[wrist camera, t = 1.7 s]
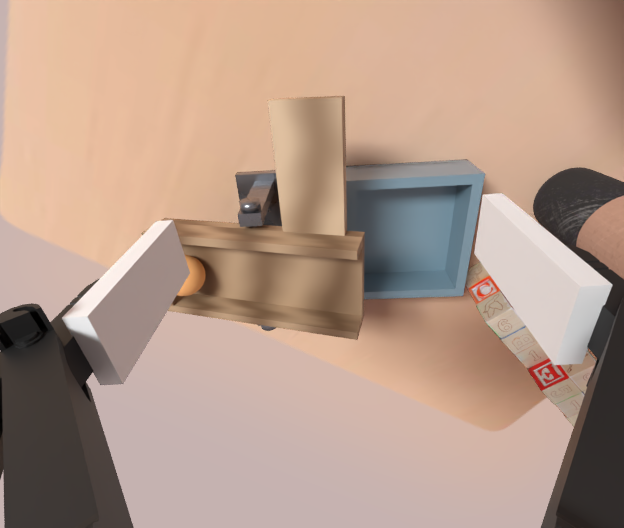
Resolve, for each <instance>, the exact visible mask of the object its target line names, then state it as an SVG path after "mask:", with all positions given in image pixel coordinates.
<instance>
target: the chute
mask: <svg viewBox="0 0 624 528" xmlns="http://www.w3.org/2000/svg"><path fill="white" fill-rule="evenodd" d="M267 101H268V109H269V118H270V126H271V135H272V143H273V152H274V161H275V169H276V178H277V186H278V195H279V203H280V212H281V220H282V226H270V225H263V226H250V227H240V225H239V223H226V222H212V221H197V220H182V219H168V218H164V219H163V220H161V221H166V220H173V221H174V224H175V227H176V230H177V233H178V237H179V240H180V243H181V246H182V249H183V252H184V255H190V256H193V257H195V258H196V259H198V260H199V261H200V262H201V263H202V265H203V267H204V269H205V275H206V276H205V281H204V284H203V286H202V287H201V288H200V289H199V290H198V291H197V292H196V293H194V294H192V295H189V296H178V295H177V296H176V297H175V299H174V301H173V302H172V304H171V306H170V307H169V309H168V311H172V312H179V313H185V314H192V315H198V316H205V317H211V318H218V319H224V320H231V321H238V322H244V323H251V324H257V325H264V326H270V327H277V328H283V329H290V330H297V331H303V332H310V333H316V334H323V335H329V336H336V337H342V338H349V339H355V340H357V339H358V335H359V332H360V328H361V325H362V321H363V317H364V247H365V232H358V231H347V196H346V139H345V96H331V97H304V98H278V99H270V100H267ZM147 230H148V229H147ZM147 230H146V231H147ZM146 231H144V232H142V235H143V234H144V233H145V232H146Z"/></svg>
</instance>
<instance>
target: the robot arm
mask: <svg viewBox="0 0 624 528" xmlns="http://www.w3.org/2000/svg"><path fill="white" fill-rule="evenodd" d="M474 254H475V255H476V257H477V258H478V259H479V261H480V262H481V264H482V265H483V266H484V268H485V269H486V271H487V272H488V273H489V275H490V276H491V278H492V279H493V280H494V282H495V283H496V285H497V286H498V287H499V289H500V290H501V292H502V293H503V294H504V296H505V297H506V299H507V300H508V301H509V303H510V304H511V306H512V307H513V308H514V310H515V311H516V313H517V314H518V315H519V317H520V318H521V320H522V321H523V322H524V324H525V325H526V326H527V328H528V329H529V331H530V332H531V333H532V335H533V336H534V338H535V339H536V340H537V342H538V343H539V345H540V346H541V347H542V349H543V350H544V352H545V353H546V354H547V356H548V357H549V359H550V360H551V361H552V363H553V364H554V365H568V364H582V363H583V360H584V357H585V355H586V352H587V350H588V348H589V349H590V350H591V351H592V352H593V354H594V355H595V356H596V357H597V361H596V363H595V366H594V368H593V371H592V373H591V375H590V378H589V380H588V383H587V385H586V387H587V389H586V392H585V396H584V399H583V402H582V405H581V408H580V411H579V414H578V417H577V420H576V423H575V426H574V429H573V432H572V435H571V438H570V441H569V444H568V447H567V450H566V453H565V456H564V459H563V462H562V465H561V468H560V471H559V474H558V478H557V480H556V483H555V486H554V489H553V492H552V495H551V498H550V501H549V504H548V507H547V511H546V514H545V517H544V520H543V523H542V526H541V528H624V279H623V278H621V277H620V276H619V275H618V274H616V273H615V272H614V271H612V270H611V269H609V267H607V266H606V265H605V264H603V263H602V262H600V260H598V259H597V258H596V257H595V256H593V255H592V254H591V253H589V252H588V251H585V250H583V249H581V248H579V247H576V246H574V245H564V244H563V243H562V242H560V241H559V240H558V239H557V238H556V237H554V236H553V235H552V234H551V233H550V232H548V231H547V230H546V229H545V228H544V227H542V226H541V225H540V224H539V223H538V222H536V221H535V220H534V219H533V218H532V217H530V216H529V215H528V214H527V213H526V212H524V211H523V210H522V209H521V208H520V207H518V206H517V205H516V204H515V203H513V202H512V201H511V200H510V199H509V198H507V197H506V196H505V195H504V194H503V193H497V194H485V195H483V196H482V203H481V210H480V217H479V224H478V231H477V238H476V244H475V251H474ZM189 274H190V271H189V268H188V265H187V261H186V258H185V255H184V252H183V249H182V246H181V243H180V240H179V237H178V233H177V230H176V227H175V224H174V221H173V220H166V221H156V222H155V223H154V224H153V225H152V226H151V227H150V228H149V229H148V230H147V231H146V232H145V233H144V234H143V235H142V236H141V237H140V239H139V240H138V241H137V242H136V243H135V244H134V245H133V246H132V247H131V248H130V249H129V250H128V251H127V252H126V253H125V254H124V255H123V256H122V257H121V258H120V259H119V260H118V261H117V262H116V263H115V264H114V265H113V266H112V267H111V268H110V269H109V270H108V271H107V272H106V273H105V274H104V275H103V276H102V277H101V278H100V279H98V280H96V281H95V282H93V283H92V284H90V285H88V286H87V287H86V288H85V289H84V290H83V291H82V292H81V293H80V294H79V295H78V297H77V298H75V299H74V300H73V301H72V302H71V303H70V305H68V306H67V307H66V308H65V309H64V310H63V311H62V312H61V313H60V314H59V315H58V316H57V317H56V318H54V319H53V321H51V322H49V320H48V318H47V317H46V315H45V313H44V312H43V310H42V308H41V307H40V306H39V305H38V304H25V305H21V306H18V307H14V308H11V309H9V310H7V311H5V312H2V313H1V314H0V350H1V352H0V478H1V475H2V472H3V469H4V516H5V517H4V518H5V528H133V524H132V522H131V518H130V515H129V512H128V508H127V505H126V502H125V499H124V495H123V493H122V489H121V486H120V483H119V480H118V476H117V473H116V470H115V467H114V464H113V460H112V457H111V454H110V451H109V447H108V444H107V441H106V438H105V435H104V431H103V428H102V425H101V422H100V419H99V415H98V412H97V409H96V406H95V402H94V399H93V396H92V393H91V390H90V388H89V387H88V385H87V383H86V381H87V379H88V378H89V376H90V375H91V373H92V372H93V373H94V375H95V376H96V378H97V380H98V382H99V383H100V385H113V384H123V383H124V382H125V380H126V378H127V377H128V375H129V373H130V372H131V370H132V368H133V367H134V365H135V364H136V362H137V360H138V359H139V357H140V355H141V354H142V352H143V350H144V349H145V347H146V345H147V344H148V342H149V340H150V339H151V337H152V335H153V334H154V332H155V330H156V329H157V327H158V325H159V324H160V322H161V321H162V319H163V317H164V316H165V314H166V312H167V311H168V309H169V307H170V306H171V304H172V302H173V301H174V299H175V297H176V296H177V294H178V292H179V291H180V289H181V287H182V286H183V284H184V282H185V281H186V279H187V278H188V276H189Z"/></svg>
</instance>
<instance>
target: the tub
mask: <svg viewBox="0 0 624 528" xmlns="http://www.w3.org/2000/svg"><path fill="white" fill-rule="evenodd" d="M484 177H485V173H484V172H482V171H481V170H480V169H479V168H477V167H476V166H475V165H473V164H472V163H471V162H470V161H468V160H449V161H431V162H414V163H396V164H378V165H360V166H346V196H347V231H358V232H365V247H364V299H389V298H418V297H447V296H463V294H464V288H465V283H466V277H467V272H468V266H469V261H470V255H471V249H472V244H473V238H474V233H475V227H476V222H477V216H478V210H479V205H480V199H481V194H482V188H483V183H484Z"/></svg>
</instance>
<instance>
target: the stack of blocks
mask: <svg viewBox="0 0 624 528" xmlns="http://www.w3.org/2000/svg"><path fill="white" fill-rule="evenodd" d="M465 285H466V287H467V288H468V291H469V293H470V295H471V296H472V298H473V300H474V301H475V303H476V304H477V306H476V307H477V308H478V310H479V312H480V314H481V315H482V317H483V319H484V320H485V322H486V323H487V325H488V326H489V327H490V328H491V329H492V330H493V331H494V332H495V333H496V335H497V336H498V337H499V338H500V339H501V341H502V342H503V343H504V344H505V345H506V346H507V347H508V348H509V349H510V351H511V352H512V353H513V354H514V355H515V356H516V357H517V358H518V360H519V361H520V362H521V363H522V364H523V365H524V366H525V367H526V368H527V369H528V371H529V373H530V374H531V376H532V377H533V379H534V380H535V382H536V384H537V385H538V387H539V388H540V390H541V391H542V392H543V393H544V394H545V395H546V396H547V397H548V398H549V399H550V401H551V402H552V403H553V404H555V405H556V406H557V407H558V408H559V409H560V410H561V411H562V413H563V414H564V416H565V417H566V419H567V420H568V421H569V422H570V423H571V424H572V425H573V426H575V423H576V420H577V417H578V414H579V411H580V408H581V405H582V402H583V399H584V396H585V392H586V389H587V387H586V385H587V383H588V380H589V378H590V375H591V373H592V371H593V368H594V366H595V363H596V360H595V359H594V357H593V356H592V355H591V354H590V353H589V352H588V350H587V352H586V355H585V357H584V360H583V363H582V364H568V365H554V364H553V363H552V361H551V360H550V359H549V357H548V356H547V354H546V353H545V352H544V350H543V349H542V347H541V346H540V345H539V343H538V342H537V340H536V339H535V338H534V336H533V335H532V333H531V332H530V331H529V329H528V328H527V326H526V325H525V324H524V322H523V321H522V320H521V318H520V317H519V315H518V314H517V313H516V311H515V310H514V308H513V307H512V306H511V304H510V303H509V301H508V300H507V299H506V297H505V296H504V294H503V293H502V292H501V290H500V289H499V287H498V286H497V285H496V283H495V282H494V280H493V279H492V278H491V276H490V275H489V273H488V272H487V271H486V269H485V268H484V266H483V265H482V264H481V262H479V263H477V264H476V265H474V266H473V267H471V268H470V269H468V272H467V277H466V283H465Z"/></svg>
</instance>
